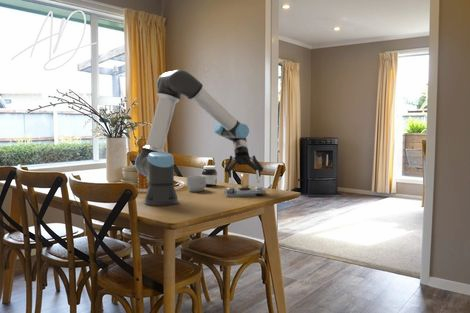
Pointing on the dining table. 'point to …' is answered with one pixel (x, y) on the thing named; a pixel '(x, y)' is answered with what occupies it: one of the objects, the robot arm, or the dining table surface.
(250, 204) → the dining table surface
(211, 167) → the spread jar
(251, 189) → the link
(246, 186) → the pin
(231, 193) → the link
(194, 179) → the teacup
